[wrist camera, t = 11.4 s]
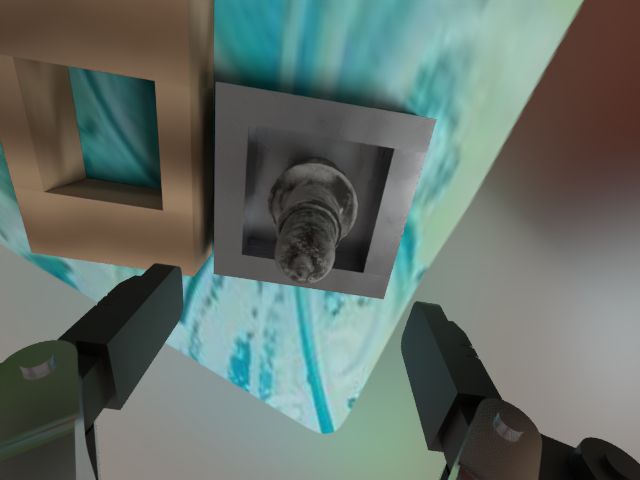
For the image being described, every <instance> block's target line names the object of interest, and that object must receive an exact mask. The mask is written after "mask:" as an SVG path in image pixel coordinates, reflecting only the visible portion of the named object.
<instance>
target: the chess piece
mask: <svg viewBox="0 0 640 480" xmlns="http://www.w3.org/2000/svg"><path fill="white" fill-rule="evenodd" d="M357 209H358V203H357V197H356V193H355V191H354V188H353V186H352V184H351V182H350V181H349V180H348V179H347V177H346V175H345V173H344V172H343V171H342V170H341V168H340V167H339V166H338V165H336V164H334V163H333V162H331V161H329V160H326V159H323V158H313V157H311V158H307V159H302V160H301V161H299V162H297V163H295V164H294V165H293V166H292V167H290V168H289V169H288V170H286V171H285V172H284V173H283V174H281V175H280V176H279V177H278V178H277V179H276V181H275V183H274V185H273V186H272V188H271V190H270V194H269V198H268V212H269V215H270V218H271V222H272V224H273V225H274V227H275V228H276V235H277V239H278V241H277V244H276V247H275V262H276V265H277V268H278V269H279V271H280V272H281V274H282V275H284V276H285V277H286V278H287V279H289V280H291V281H293V282H296V283H301V284H309V283H314V282H316V281H319V280H321V279H322V278H324V277H325V276H326V275H327V274H328V273H329V271H330V270H331V268H332V266H333V263H334V261H335V248H336V247H337V246H338V244H339V241H340V240H341V239H342V238H343V237H345V236H346V235H347V233H348V232H349V231H350V229H351V228H352V227H353V225H354V222H355V219H356V217H357Z"/></svg>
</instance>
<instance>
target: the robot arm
mask: <svg viewBox="0 0 640 480" xmlns="http://www.w3.org/2000/svg"><path fill="white" fill-rule="evenodd" d="M182 311H183V285H182V271H181V268H180V267H179V266H174V265H167V264H160V263H155V264H153V265H152V266H151V267H150V268H149V269H148V270H147V271H146V272H145V273H144V274H143V275H142V276H136V275H135V276H133V277H131V278H129V279H127V280H125V281H123V282H121V283H119V284H118V285H117V286H116V287H115V288H114V289H112V290H111V291H110V292H109V293H108V294H107V296H105V297H104V298H103V299H101V300H100V301H99V302H98V304H97V306H94V307H93V308H92V309H91V310H89V311H88V312H87V313H86V314H85V315H84V316H83V317H82V318H81V319H80V320H79V321H77V322H76V323H75V324H74V325H73V326H72V327H71V328H70V329H68V330H67V331H66V332H65V333H64V334H63V335H62V336H61V337H60V338H59V339H58V340H51V341H44V342H39V343H36V344H33V345H30V346H28V347H26V348H23V349H21V350H19V351H17V352H16V353H14V354H12V355H11V356H10V357H8V358H7V359H6V360H5V361H4V362H3V363H0V480H101V474H100V462H99V450H98V438H97V426H96V421H95V420H96V418H97V417H98V415H99V414H100V413H101V411H102V410H103V408H109V409H116V410H121V408H122V407H123V405H124V404H125V402H126V400H127V399H128V398H129V396H130V394H131V393H132V392H133V390H134V389H135V387H136V385H137V384H138V382H139V381H140V379H141V378H142V376H143V375H144V373H145V372H146V370H147V369H148V367H149V366H150V364H151V363H152V361H153V360H154V358H155V357H156V355H157V354H158V352H159V350H160V349H161V348H162V346H163V344H164V343H165V341H166V340H167V338H168V337H169V335H170V334H171V332H172V331H173V329H174V328H175V326H176V325H177V323H178V322H179V320H180V317H181V315H182ZM401 350H402V356H403V359H404V363H405V366H406V370H407V374H408V377H409V381H410V385H411V388H412V392H413V396H414V399H415V403H416V407H417V410H418V414H419V417H420V421H421V425H422V429H423V432H424V435H425V440H426V443H427V447H428V450H431V451H439V452H444V456H445V459H446V464H445V465H444V467H443V469H442V471H441V474H440V476H439V479H438V480H640V464H639V463H638V462H637V461H636V460H635V459H633V458H632V457H631V456H630V455H628V454H627V453H626V452H624V451H623V450H621V449H620V448H618V447H616V446H615V445H613V444H611V443H609V442H607V441H604V440H602V439H598V438H592V437H591V438H585V439H583V440H582V442H581V443H580V444H579V445H578V446H577V448H574V447H572V446H569V445H567V444H564V443H562V442H559V441H557V440H554V439H552V438H550V437H547V436H545V435H543V434H540V433H539V431H538V429H537V427H536V426H535V424H534V423H533V422H532V421H531V419H530V418H529V417H528V416H527V415H526V414H525V413H524V412H522V411H521V410H520V409H519V408H517V407H515V406H514V405H512V404H510V403H509V402H506V401H504V400H502V398H501V396H500V394H499V393H498V391H497V389H496V387H495V386H494V384H493V382H492V380H491V378H490V377H489V375H488V373H487V371H486V369H485V368H484V366H483V364H482V362H481V360H480V359H478V355H477V353H476V351H475V350H474V349H473V348H472V344H471V343H470V341H469V339H468V337H467V335H466V334H465V332H464V331H463V330H461V329H460V328H459V327H458V326H457V325H456V324H455V323H454V322H453V321H448V320H447V318H446V316H445V314H444V312H443V310H442V308H441V307H440V305H438V304H432V303H425V302H418V301H417V302H415V303H414V305H413V307H412V310H411V313H410V315H409V318H408V321H407V324H406V327H405V330H404V332H403V336H402V341H401Z"/></svg>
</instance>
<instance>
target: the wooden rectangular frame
mask: <svg viewBox="0 0 640 480" xmlns="http://www.w3.org/2000/svg"><path fill="white" fill-rule="evenodd" d="M68 66H70V67H76V68H82V69H88V70H94V71H100V72H106V73H112V74H117V75H123V76H129V77H135V78H141V79H147V80H153V81H155V92H156V108H157V123H158V138H159V154H160V169H161V185H162V190H159V189H153V188H147V187H140V186H134V185H128V184H121V183H115V182H108V181H102V180H96V179H89V178H86V172H85V166H84V160H83V154H82V148H81V142H80V136H79V130H78V125H77V119H76V113H75V107H74V101H73V95H72V89H71V83H70V77H69V71H68ZM213 85H214V0H0V139H1V143H2V147H3V150H4V154H5V158H6V161H7V165H8V169H9V172H10V176H11V180H12V183H13V187H14V190H15V194H16V198H17V201H18V205H19V209H20V212H21V216H22V220H23V223H24V227H25V231H26V234H27V238H28V242H29V245H30V249H31V253H37V254H44V255H51V256H58V257H65V258H71V259H78V260H85V261H92V262H98V263H105V264H112V265H119V266H125V267H132V268H139V269H146V270H148V269H149V268H150V267H151V266H152V265H153V264H155V263H160V264H167V265H174V266H179V267H180V268H181V271H182V275H186V276H193V277H194V276H195V274H196V273H197V272H198V270H199V269H200V268H201V267H202V265H203V264H204V263H205V261H206V260H207V259H208V257H209V256H210V255H211V253H212V220H213Z"/></svg>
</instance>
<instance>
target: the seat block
mask: <svg viewBox="0 0 640 480" xmlns="http://www.w3.org/2000/svg"><path fill="white" fill-rule="evenodd" d="M436 120H437V119H432V118H427V117H423V116H418V115H412V114H406V113H400V112H394V111H389V110H383V109H377V108H371V107H365V106H359V105H354V104H348V103H342V102H336V101H330V100H324V99H319V98H313V97H307V96H301V95H295V94H289V93H284V92H278V91H272V90H266V89H260V88H254V87H249V86H243V85H237V84H230V83H222V82H216V98H215V198H214V274H218V275H224V276H231V277H238V278H245V279H251V280H258V281H265V282H271V283H278V284H285V285H292V286H298V287H305V288H312V289H319V290H325V291H332V292H339V293H346V294H352V295H359V296H366V297H373V298H379V299H384V296H385V292H386V289H387V286H388V282H389V279H390V275H391V272H392V269H393V265H394V262H395V258H396V255H397V252H398V248H399V245H400V242H401V238H402V235H403V231H404V228H405V225H406V221H407V218H408V214H409V211H410V208H411V204H412V201H413V198H414V194H415V191H416V187H417V184H418V181H419V177H420V174H421V170H422V167H423V164H424V160H425V157H426V154H427V150H428V147H429V143H430V140H431V137H432V133H433V130H434V126H435V123H436ZM311 157H313V158H323V159H326V160H329V161H331V162H333V163H334V164H336V165H338V166H339V167H340V168H341V170H342V171H343V172H344V173H345V175H346V177H347V179H348V180H349V181H350V182H351V184H352V186H353V188H354V191H355V193H356V197H357V203H358V209H357V217H356V219H355V222H354V225H353V227H352V228H351V229H350V231H349V232H348V233H347V235H346V236H345V237H343V238H342V239H341V240H340V241H339V244H338V246H337V247H336V248H335V261H334V263H333V266H332V268H331V270H330V271H329V273H328V274H327V275H326V276H325V277H324V278H322V279H321V280H319V281H316V282H314V283H309V284H301V283H296V282H293V281H291V280H289V279H287V278H286V277H285V276H284V275H282V274H281V272H280V271H279V269H278V268H277V265H276V262H275V247H276V244H277V241H278V239H277V235H276V228H275V227H274V225H273V224H272V222H271V218H270V215H269V212H268V198H269V194H270V190H271V188H272V186H273V185H274V183H275V181H276V179H277V178H278V177H279V176H280V175H281V174H283V173H284V172H285V171H286V170H288V169H289V168H290V167H292V166H293V165H294V164H295V163H297V162H299V161H301V160H302V159H307V158H311Z"/></svg>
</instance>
